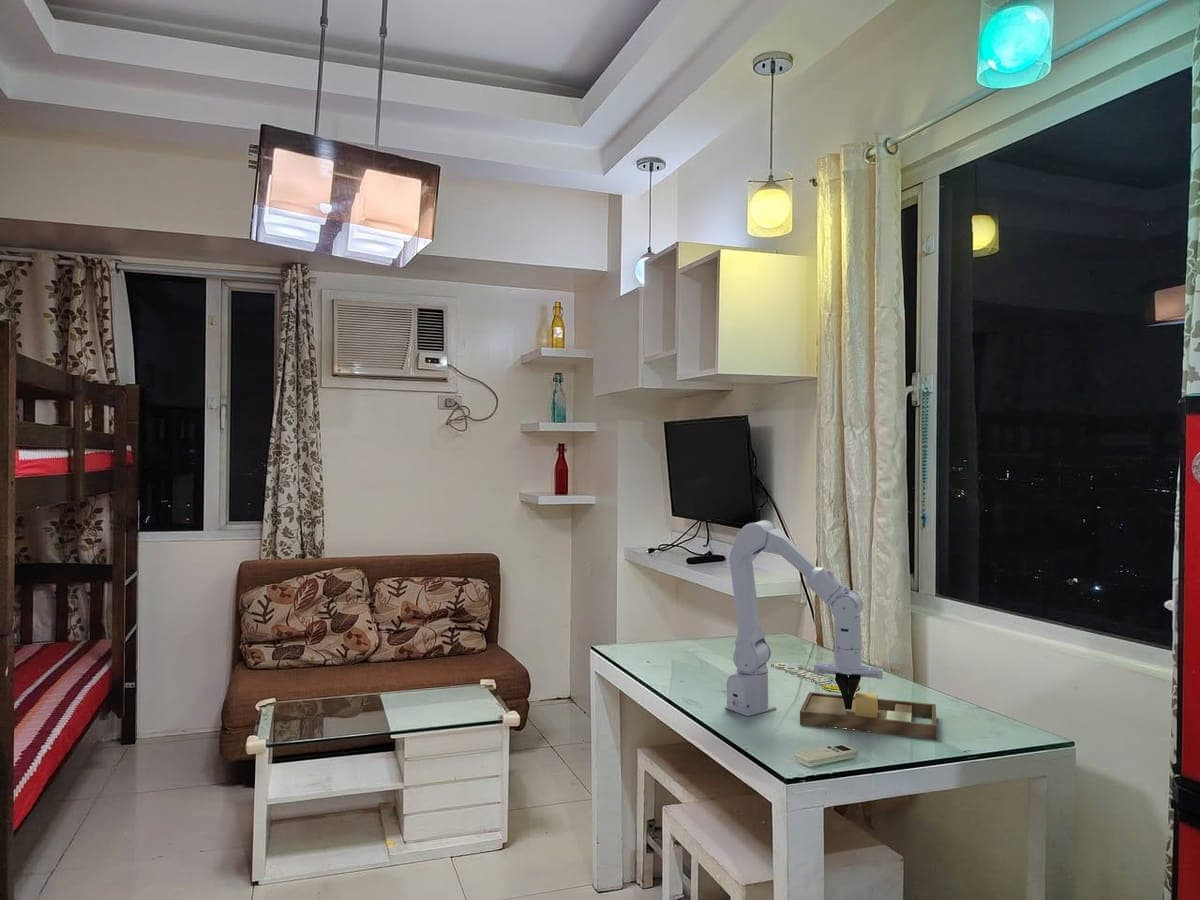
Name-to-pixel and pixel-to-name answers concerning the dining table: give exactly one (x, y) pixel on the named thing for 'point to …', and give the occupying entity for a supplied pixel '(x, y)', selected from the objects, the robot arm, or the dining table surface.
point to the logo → (807, 674)
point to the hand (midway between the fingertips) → (848, 708)
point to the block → (866, 704)
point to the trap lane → (889, 718)
